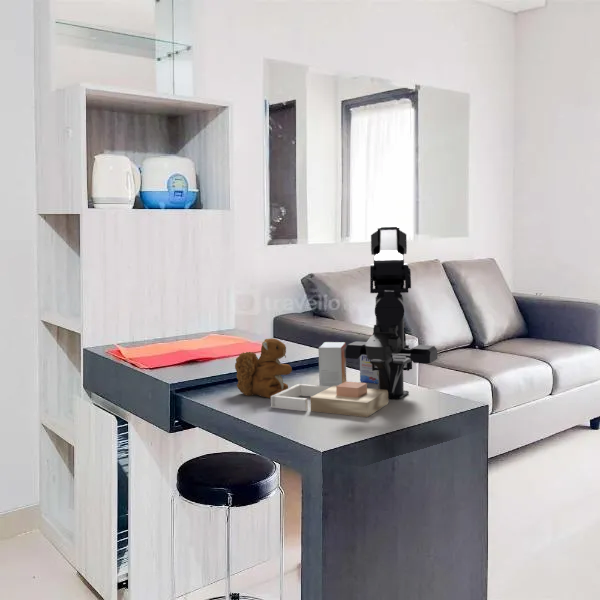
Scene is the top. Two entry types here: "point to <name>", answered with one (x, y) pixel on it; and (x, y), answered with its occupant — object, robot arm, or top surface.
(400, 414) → the top surface
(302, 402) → the box
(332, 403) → the plate
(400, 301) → the robot arm
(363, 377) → the medicine box
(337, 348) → the small box
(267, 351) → the stuffed squirrel
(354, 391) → the tile
